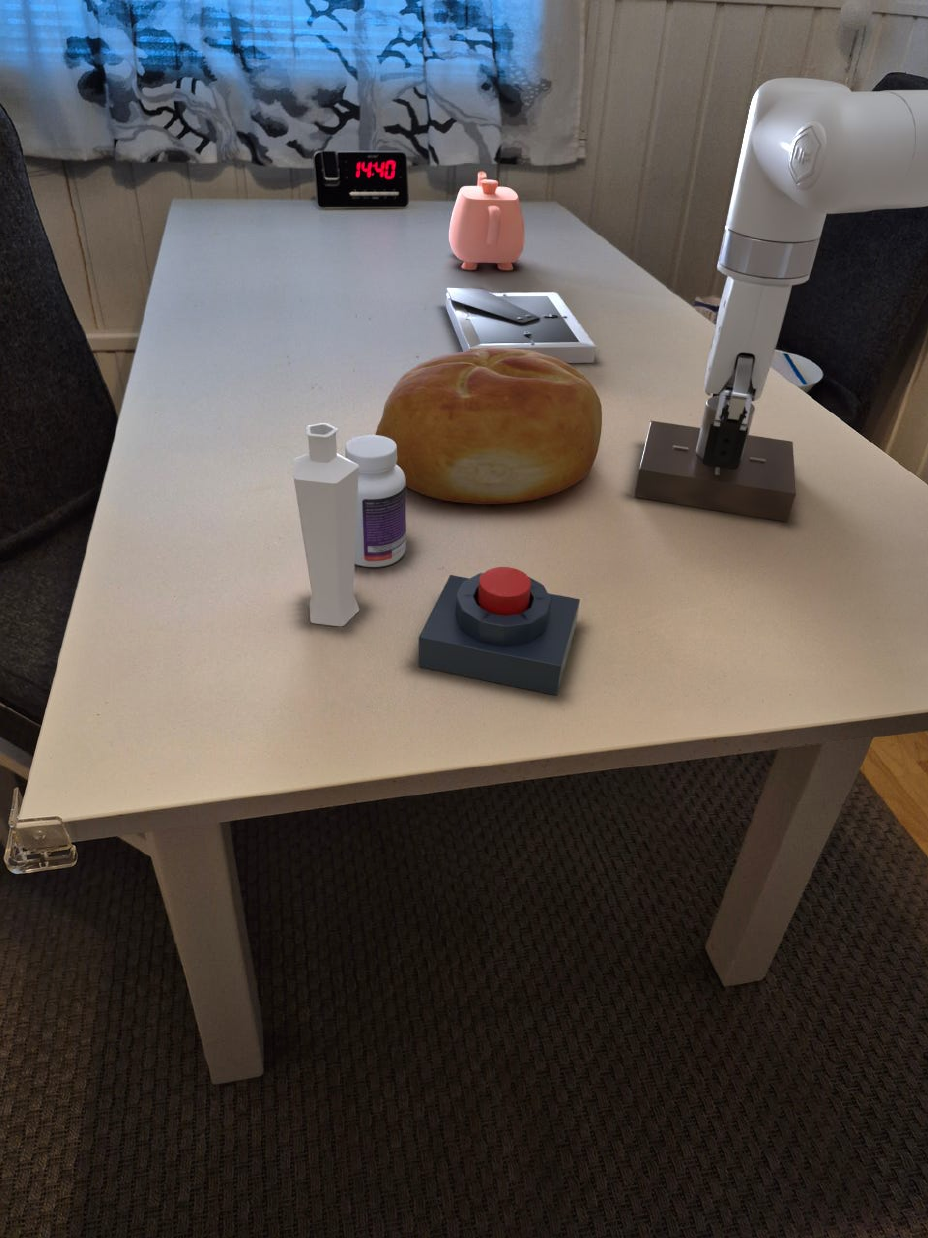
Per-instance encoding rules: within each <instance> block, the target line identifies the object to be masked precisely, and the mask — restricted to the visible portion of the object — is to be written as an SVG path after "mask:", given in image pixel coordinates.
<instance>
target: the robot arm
mask: <svg viewBox="0 0 928 1238" xmlns="http://www.w3.org/2000/svg"><path fill="white" fill-rule="evenodd" d="M923 207H928V89H895V90H894V89H892V90H891V89H890V90H889V89H888V90H886V89H884V90H880V91H852V90H851V88H849V87H848V86H847V85H845V84H843V83H839V82H836V81H832V80H825V79H819V78H806V77H780V78H778V77H777V78H773V79H770V80H767V81H765V82H764V83H762V84H761V85H760V86H759V87H758V88H757V89H756V91H755V93H754V95H753V97H752V99H751V104H750V107H749V112H748V117H747V122H746V126H745V132H744V135H743V139H742V146H741V151H740V155H739V159H738V165H737V170H736V174H735V179H734V184H733V189H732V194H731V198H730V203H729V208H728V213H727V217H726V223H725V226H724V232H723V236H722V241H721V246H720V252H719V255H718V260H717V266H716V268H717V271H719V273H721V274H722V275H725V276H727V277H726V280H725V284H724V287H723V291H722V295H721V299H720V303H719V308H718V312H717V316H716V322H715V325H714V330H713V335H712V340H711V344H710V350H709V354H708V359H707V364H706V368H705V375H704V384H703V391H704V393H705V394H706V395H707V396H711V394H712V396H711V397H714V396H719V400H718V405H717V410H716V415H715V420H714V422H711V424H710V428H709V433H708V437H707V441H706V446H705V450H704V455H703V460H702V463H703V464H704V465H706V466H712V467H719V468H725V469H731V470H736V469H737V468H738V467H739V463H740V459H741V455H742V451H743V447H744V443H745V439H746V435H747V432H748V427H747V423H748V418H749V413H750V408H751V403H752V402H753V403H754V402H756V401H757V400H759V399H760V398H761V397H762V394H763V391H764V387H765V384H766V381H767V378H768V375H769V372H770V368H771V365H772V362H773V359H774V354H775V352H776V348H777V344H778V341H779V338H780V333H781V330H782V326H783V323H784V318H785V315H786V311H787V307H788V303H789V299H790V296H791V291H792V287H793V286H797V285H801V284H804V283H806V282H808V281H809V280H810V277H811V272H812V269H813V266H814V261H815V259H816V254H817V252H818V251H817V250H818V248H819V244H820V240H821V236H822V232H823V228H824V225H825V221H826V217H827V215H835V214H850V213H865V212H870V211H877V210H878V211H879V210H894V209H895V210H897V209H910V208H911V209H912V208H913V209H914V208H923ZM725 400H728V401H729V405H728V404H726V406H725V407H724V404H725ZM753 403H752V404H753Z"/></svg>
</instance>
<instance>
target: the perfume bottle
mask: <svg viewBox="0 0 928 1238" xmlns="http://www.w3.org/2000/svg"><path fill="white" fill-rule="evenodd" d="M338 431H339V429H338V428H337V427H335V426H334V425H332V424H331V423H328V422H320V423H314V424H309V425H306V426H305V435H306V436H307V439H308V450H309V451H308V452H309V453H306V454H303V455H300V456H298V457H295V458H293V460H292V467H293V468H292V473H293V476H292V477H293V483H294V490H295V495H296V500H297V502H296V503H297V508H298V515H299V521H300V528H301V533H302V539H303V546H304V553H305V558H306V564H307V571H308V578H309V584H310V591H311V595H310V602H309V620H310V621H309V622H310V623H312V624H318V625H325V626H334V627H344V626H345V625H347V623H348V622H349V621H350V620H351V619H353V617H355V615H357V613H359V611H360V608H359V605H358V602H357V600H356V597H355V594H354V589H355V588H354V587H355V567H356V564H355V544H356V520H357V497H358V474H359V465H358V464H356V463H354V462H352V461H350V460H348V459H347V458H346V456H343V455H342V454H339V453H338V447H337V446H338V445H337V433H338Z"/></svg>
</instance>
